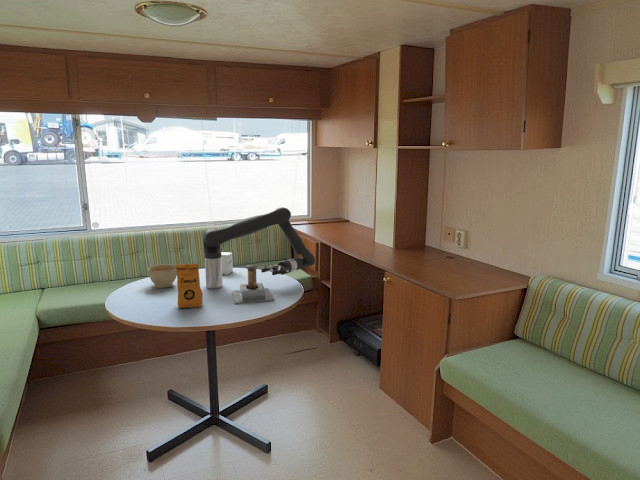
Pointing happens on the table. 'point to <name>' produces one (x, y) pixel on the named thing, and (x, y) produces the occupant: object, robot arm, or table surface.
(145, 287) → the table surface
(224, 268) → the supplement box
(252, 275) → the walnut pin
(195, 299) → the coffee package
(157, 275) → the planter bowl
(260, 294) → the socket block
